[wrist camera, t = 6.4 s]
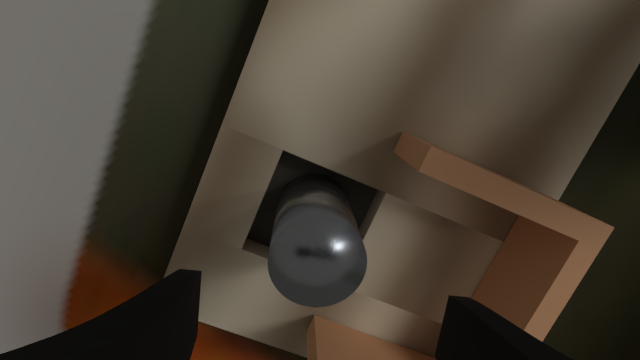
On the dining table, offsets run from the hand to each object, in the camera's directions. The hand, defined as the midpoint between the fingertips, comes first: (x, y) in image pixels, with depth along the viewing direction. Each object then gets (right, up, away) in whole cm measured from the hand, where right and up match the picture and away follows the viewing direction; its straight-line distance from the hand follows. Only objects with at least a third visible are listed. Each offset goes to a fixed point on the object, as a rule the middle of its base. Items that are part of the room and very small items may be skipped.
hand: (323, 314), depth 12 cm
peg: (0, +2, +9) cm, 9 cm away
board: (+3, +5, +9) cm, 10 cm away
